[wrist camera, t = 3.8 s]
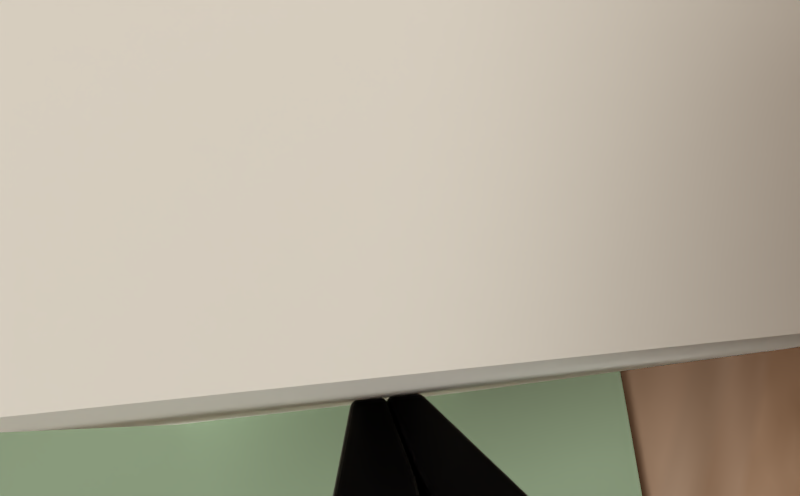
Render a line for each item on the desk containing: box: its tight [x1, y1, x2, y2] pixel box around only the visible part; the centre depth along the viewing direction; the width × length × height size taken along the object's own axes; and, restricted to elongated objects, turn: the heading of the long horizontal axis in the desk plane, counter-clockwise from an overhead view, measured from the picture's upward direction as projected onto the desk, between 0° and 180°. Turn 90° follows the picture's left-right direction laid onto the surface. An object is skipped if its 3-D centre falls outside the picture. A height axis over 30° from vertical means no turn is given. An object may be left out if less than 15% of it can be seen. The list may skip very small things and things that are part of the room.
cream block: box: [0, 0, 800, 432], centre depth 10 cm, size 8×6×13 cm
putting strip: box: [0, 371, 642, 496], centre depth 16 cm, size 23×14×1 cm, turn 6°
